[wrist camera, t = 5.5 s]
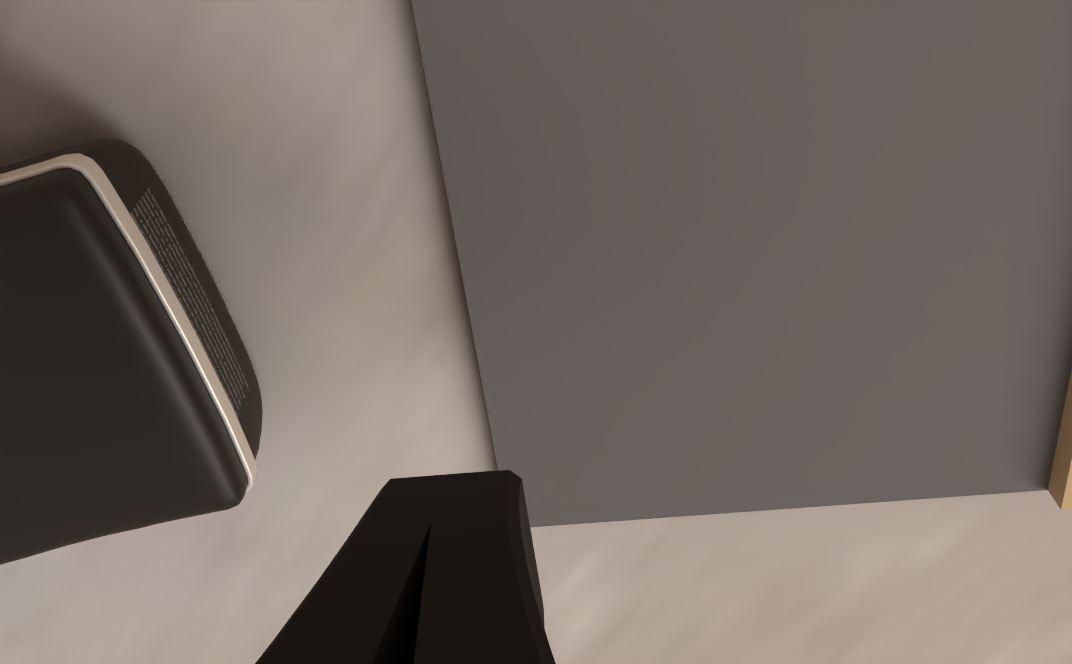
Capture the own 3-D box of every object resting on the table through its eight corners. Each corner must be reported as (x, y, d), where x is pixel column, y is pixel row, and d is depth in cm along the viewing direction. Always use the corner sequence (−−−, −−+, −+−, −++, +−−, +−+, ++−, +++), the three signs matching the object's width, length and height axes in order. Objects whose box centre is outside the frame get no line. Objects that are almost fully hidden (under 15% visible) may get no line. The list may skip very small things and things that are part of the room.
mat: (509, 515, 20) (507, 548, 20) (376, -218, 13) (362, -217, 13) (1079, 474, 19) (1102, 506, 18) (1258, -349, 12) (1308, -357, 11)
